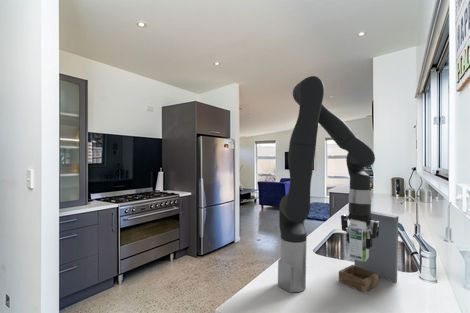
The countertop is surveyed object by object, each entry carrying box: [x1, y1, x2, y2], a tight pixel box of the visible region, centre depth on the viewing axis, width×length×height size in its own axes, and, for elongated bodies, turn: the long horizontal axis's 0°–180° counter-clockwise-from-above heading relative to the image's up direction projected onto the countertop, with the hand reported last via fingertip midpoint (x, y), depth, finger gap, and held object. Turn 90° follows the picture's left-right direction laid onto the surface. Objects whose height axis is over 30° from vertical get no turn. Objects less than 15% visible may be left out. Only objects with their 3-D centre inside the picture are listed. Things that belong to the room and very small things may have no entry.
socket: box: [338, 264, 380, 294], centre depth 97 cm, size 10×10×4 cm
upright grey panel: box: [353, 210, 399, 283], centre depth 104 cm, size 4×16×25 cm, turn 37°
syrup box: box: [348, 219, 369, 262], centre depth 97 cm, size 6×6×14 cm
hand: (359, 245), depth 97 cm, fingers closed on syrup box, 6 cm apart
